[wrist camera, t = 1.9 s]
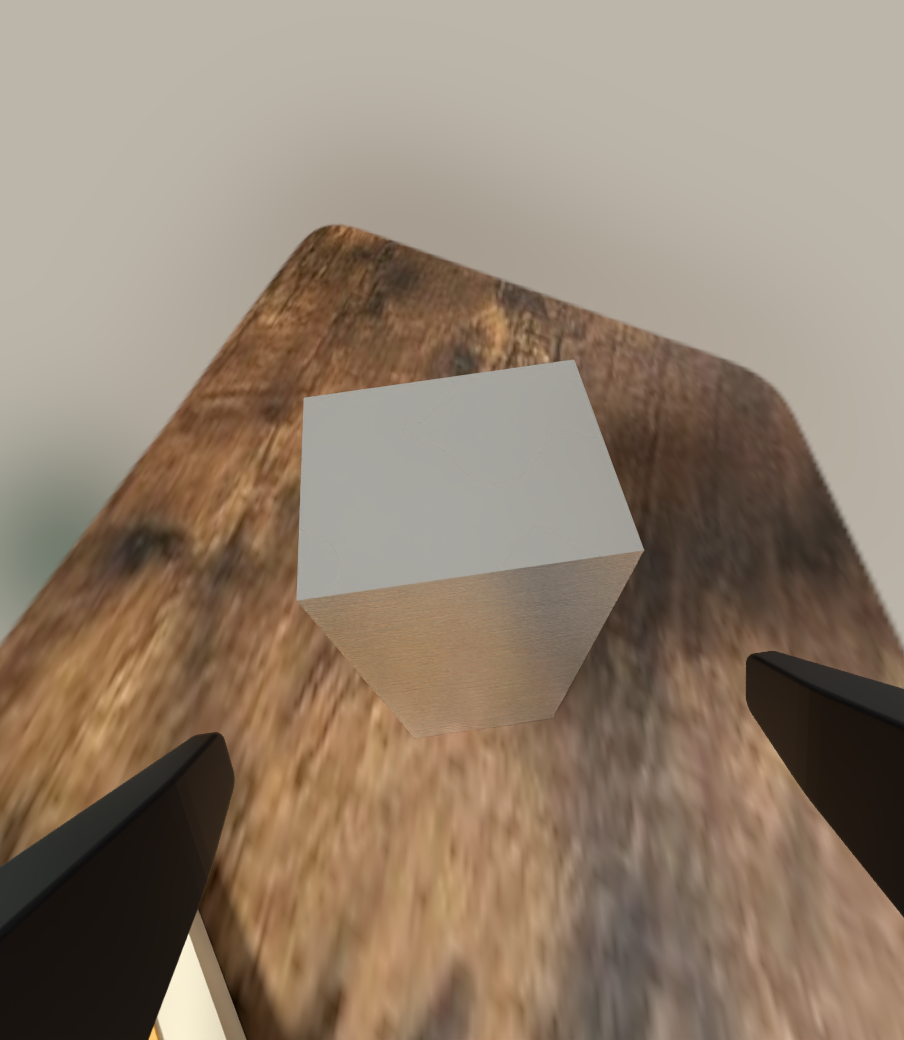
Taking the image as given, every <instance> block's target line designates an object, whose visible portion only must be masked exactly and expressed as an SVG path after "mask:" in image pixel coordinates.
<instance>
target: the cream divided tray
mask: <svg viewBox="0 0 904 1040" xmlns="http://www.w3.org/2000/svg"><path fill="white" fill-rule="evenodd" d="M149 1040H246V1037H245V1034H244V1032H243V1029H242V1026H241V1024H240V1021H239V1018H238V1016H237V1013H236V1010H235V1007H234V1005H233V1002H232V999H231V997H230V994H229V991H228V989H227V986H226V983H225V980H224V978H223V975H222V972H221V970H220V967H219V964H218V961H217V959H216V956H215V953H214V951H213V948H212V945H211V943H210V940H209V937H208V934H207V932H206V929H205V926H204V924H203V921H202V918H201V915H200V913H199V910H197V913H196V916H195V918H194V921H193V924H192V926H191V929H190V932H189V934H188V937H187V940H186V942H185V945H184V947H183V950H182V953H181V955H180V958H179V961H178V963H177V966H176V969H175V971H174V974H173V977H172V979H171V982H170V985H169V987H168V990H167V993H166V995H165V998H164V1001H163V1003H162V1006H161V1008H160V1011H159V1014H158V1016H157V1019H156V1022H155V1024H154V1027H153V1030H152V1032H151V1035H150V1038H149Z"/></svg>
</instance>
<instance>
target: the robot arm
mask: <svg viewBox="0 0 904 1040" xmlns="http://www.w3.org/2000/svg"><path fill="white" fill-rule="evenodd" d="M746 701H747V705H748V707H749V710H750V712H751V713H752V715H753V716H754V718H755V719H756V721H757V722H758V724H759V725H760V727H761V729H762V730H763V732H764V733H765V735H766V736H767V738H768V739H769V741H770V742H771V744H772V745H773V747H774V748H775V750H776V751H777V753H778V754H779V756H780V757H781V759H782V760H783V762H784V763H785V765H786V766H787V768H788V769H789V771H790V772H791V774H792V775H793V777H794V779H795V780H796V781H797V783H798V784H799V786H800V787H801V789H802V790H803V791H804V793H805V794H806V796H807V797H808V798H809V799H810V801H811V802H812V803H813V805H814V806H815V807H816V809H817V810H818V811H819V812H820V814H821V815H822V816H823V817H824V819H825V820H826V821H827V822H828V824H829V825H830V826H831V827H832V829H833V830H834V831H835V832H836V833H837V835H838V836H839V837H840V838H841V840H842V841H843V842H844V843H845V845H846V846H847V847H848V848H849V850H850V851H851V852H852V853H853V855H854V856H855V857H856V858H857V860H858V861H859V862H860V863H861V865H862V866H863V867H864V868H865V870H866V871H867V872H868V873H869V875H870V876H871V877H872V878H873V880H874V881H875V882H876V883H877V885H878V886H879V887H880V888H881V890H882V891H883V892H884V893H885V895H886V896H887V897H888V898H889V900H890V901H891V902H892V903H893V905H894V906H895V907H896V908H897V910H898V911H899V912H900V913H901V915H902V916H903V917H904V689H902V688H898V687H895V686H891V685H888V684H885V683H881V682H878V681H874V680H871V679H868V678H864V677H861V676H858V675H854V674H851V673H847V672H844V671H841V670H837V669H834V668H830V667H827V666H824V665H820V664H817V663H813V662H810V661H807V660H803V659H800V658H797V657H793V656H790V655H786V654H783V653H780V652H776V651H768V652H761V653H754V654H751V655H750V656H749V657H748V658H747V661H746ZM234 780H235V778H234V771H233V767H232V764H231V760H230V757H229V753H228V750H227V746H226V743H225V740H224V737H223V736H222V734H220V733H218V732H213V733H206V734H200V735H195V736H193V737H191V738H190V739H188V740H187V741H186V742H184V743H183V744H181V745H180V746H178V747H177V748H175V749H174V750H172V751H171V752H169V753H168V754H166V755H165V756H163V757H162V758H160V759H159V760H157V761H156V762H154V763H153V764H152V765H150V766H149V767H147V768H146V769H144V770H143V771H141V772H140V773H138V774H137V775H135V776H134V777H132V778H131V779H129V780H128V781H126V782H125V783H123V784H122V785H120V786H119V787H118V788H116V789H115V790H113V791H112V792H110V793H109V794H107V795H106V796H104V797H103V798H101V799H100V800H98V801H97V802H95V803H94V804H92V805H91V806H89V807H88V808H86V809H85V810H84V811H82V812H81V813H79V814H78V815H76V816H75V817H73V818H72V819H70V820H69V821H67V822H66V823H64V824H63V825H61V826H60V827H58V828H57V829H55V830H54V831H52V832H51V833H49V834H48V835H47V836H45V837H44V838H42V839H41V840H39V841H38V842H36V843H35V844H33V845H32V846H30V847H29V848H27V849H26V850H24V851H23V852H21V853H20V854H18V855H17V856H15V857H14V858H13V859H11V860H10V861H8V862H7V863H5V864H4V865H2V866H1V867H0V1040H149V1038H150V1035H151V1032H152V1030H153V1027H154V1024H155V1022H156V1019H157V1016H158V1014H159V1011H160V1008H161V1006H162V1003H163V1001H164V998H165V995H166V993H167V990H168V987H169V985H170V982H171V979H172V977H173V974H174V971H175V969H176V966H177V963H178V961H179V958H180V955H181V953H182V950H183V947H184V945H185V942H186V940H187V937H188V934H189V932H190V929H191V926H192V924H193V921H194V918H195V916H196V913H197V910H198V908H199V905H200V902H201V900H202V897H203V894H204V891H205V888H206V886H207V883H208V880H209V876H210V873H211V870H212V866H213V863H214V859H215V855H216V852H217V848H218V844H219V840H220V837H221V833H222V829H223V826H224V822H225V818H226V815H227V811H228V807H229V804H230V800H231V796H232V793H233V789H234Z"/></svg>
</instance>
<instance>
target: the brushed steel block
mask: <svg viewBox="0 0 904 1040" xmlns="http://www.w3.org/2000/svg"><path fill="white" fill-rule="evenodd" d="M643 552H644V548H643V546H642V543H641V540H640V538H639V535H638V532H637V529H636V527H635V524H634V521H633V519H632V516H631V513H630V510H629V508H628V505H627V502H626V500H625V497H624V494H623V491H622V489H621V486H620V483H619V480H618V478H617V475H616V472H615V470H614V467H613V464H612V461H611V459H610V456H609V453H608V451H607V448H606V445H605V442H604V440H603V437H602V434H601V432H600V429H599V426H598V423H597V421H596V418H595V415H594V413H593V410H592V407H591V404H590V402H589V399H588V396H587V393H586V391H585V388H584V385H583V383H582V380H581V377H580V374H579V372H578V369H577V366H576V364H575V361H574V360H568V361H561V362H554V363H547V364H540V365H533V366H526V367H519V368H512V369H505V370H497V371H490V372H483V373H476V374H469V375H462V376H455V377H448V378H441V379H434V380H427V381H420V382H413V383H406V384H398V385H391V386H384V387H377V388H370V389H363V390H356V391H349V392H342V393H335V394H328V395H321V396H314V397H307V398H304V410H303V438H302V466H301V493H300V521H299V549H298V577H297V602H298V603H299V604H300V605H301V606H302V607H303V609H304V610H305V611H306V612H307V613H308V614H309V616H310V617H311V618H312V619H313V620H314V621H315V623H316V624H317V625H318V626H319V627H320V628H321V630H322V631H323V632H324V633H325V634H326V635H327V637H328V638H329V639H330V640H331V641H332V642H333V644H334V645H335V646H336V647H337V648H338V649H339V651H340V652H341V653H342V654H343V655H344V656H345V658H346V659H347V660H348V661H349V662H350V663H351V665H352V666H353V667H354V668H355V669H356V670H357V672H358V673H359V674H360V675H361V676H362V677H363V679H364V680H365V681H366V682H367V683H368V684H369V686H370V687H371V688H372V689H373V690H374V691H375V693H376V694H377V695H378V696H379V697H380V698H381V700H382V701H383V702H384V703H385V704H386V705H387V707H388V708H389V709H390V710H391V711H392V712H393V714H394V715H395V716H396V717H397V718H398V719H399V721H400V722H401V723H402V724H403V725H404V726H405V728H406V729H407V730H408V731H409V732H410V733H411V735H412V736H413V737H414V738H415V739H416V738H423V737H430V736H437V735H444V734H450V733H457V732H464V731H471V730H478V729H484V728H491V727H498V726H505V725H512V724H518V723H525V722H532V721H539V720H546V719H552V718H553V717H554V715H555V713H556V711H557V709H558V707H559V706H560V704H561V702H562V700H563V698H564V696H565V695H566V693H567V691H568V689H569V687H570V685H571V684H572V682H573V680H574V678H575V676H576V674H577V673H578V671H579V669H580V667H581V665H582V663H583V662H584V660H585V658H586V656H587V654H588V652H589V651H590V649H591V647H592V645H593V643H594V641H595V640H596V638H597V636H598V634H599V632H600V630H601V629H602V627H603V625H604V623H605V621H606V619H607V618H608V616H609V614H610V612H611V610H612V608H613V607H614V605H615V603H616V601H617V599H618V597H619V596H620V594H621V592H622V590H623V588H624V586H625V585H626V583H627V581H628V579H629V577H630V575H631V574H632V572H633V570H634V568H635V566H636V564H637V563H638V561H639V559H640V557H641V555H642V553H643Z"/></svg>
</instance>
